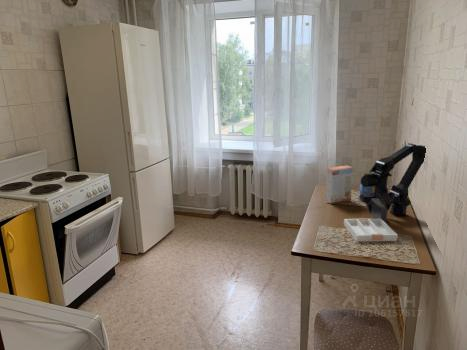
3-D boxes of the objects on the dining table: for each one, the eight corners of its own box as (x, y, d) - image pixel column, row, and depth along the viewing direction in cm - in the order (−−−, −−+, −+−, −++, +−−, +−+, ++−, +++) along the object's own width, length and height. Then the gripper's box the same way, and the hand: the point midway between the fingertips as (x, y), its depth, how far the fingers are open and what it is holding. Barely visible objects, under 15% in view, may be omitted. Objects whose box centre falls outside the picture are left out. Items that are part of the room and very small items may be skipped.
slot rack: (379, 223, 171) (380, 217, 170) (397, 241, 153) (398, 234, 152) (343, 224, 171) (344, 218, 170) (356, 241, 153) (357, 235, 152)
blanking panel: (374, 212, 185) (376, 198, 183) (385, 223, 172) (387, 208, 170) (369, 212, 185) (370, 199, 183) (380, 223, 172) (381, 208, 170)
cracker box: (344, 197, 208) (347, 164, 203) (351, 201, 203) (353, 167, 197) (325, 200, 204) (326, 167, 198) (330, 204, 199) (332, 169, 193)
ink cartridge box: (361, 202, 201) (363, 178, 197) (358, 198, 206) (360, 175, 202) (378, 201, 201) (380, 178, 197) (374, 198, 206) (376, 175, 202)
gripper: (368, 190, 166) (365, 219, 170) (406, 189, 166) (403, 219, 170) (360, 183, 177) (357, 211, 181) (396, 182, 176) (393, 210, 181)
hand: (377, 213), depth 178 cm, fingers open, 8 cm apart
